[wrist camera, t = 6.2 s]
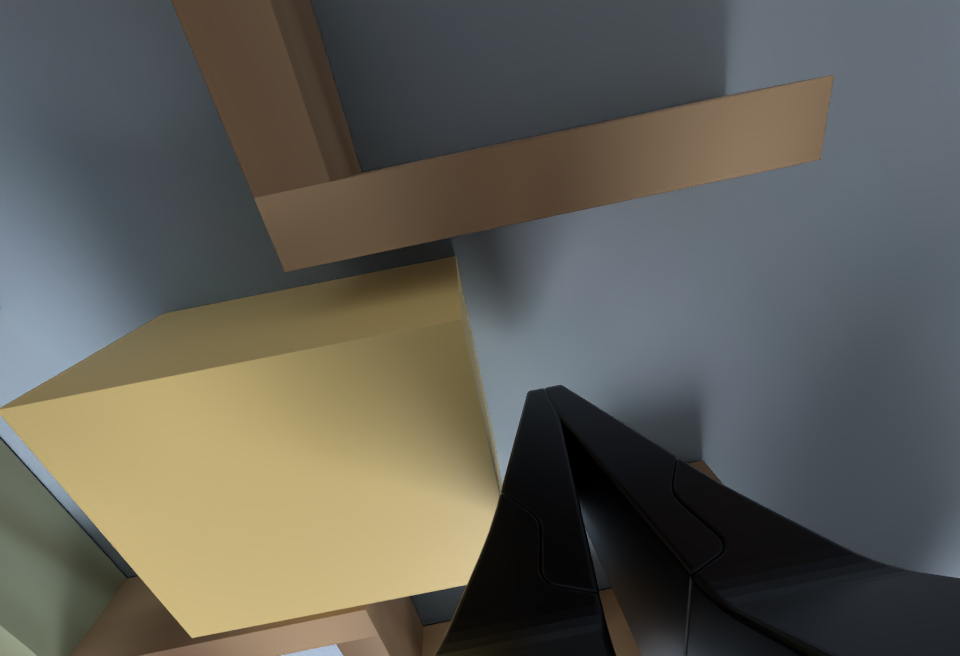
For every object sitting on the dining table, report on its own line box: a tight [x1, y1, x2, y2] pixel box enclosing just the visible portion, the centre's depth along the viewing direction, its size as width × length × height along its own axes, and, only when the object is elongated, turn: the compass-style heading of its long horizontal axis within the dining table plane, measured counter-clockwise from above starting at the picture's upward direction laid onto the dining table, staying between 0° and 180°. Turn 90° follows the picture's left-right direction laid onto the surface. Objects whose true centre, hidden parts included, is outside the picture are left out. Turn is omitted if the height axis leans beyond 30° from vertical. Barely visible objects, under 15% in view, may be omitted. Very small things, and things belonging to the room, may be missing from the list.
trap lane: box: [0, 0, 834, 656], centre depth 10 cm, size 20×23×2 cm
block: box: [0, 256, 502, 638], centre depth 9 cm, size 7×6×4 cm
